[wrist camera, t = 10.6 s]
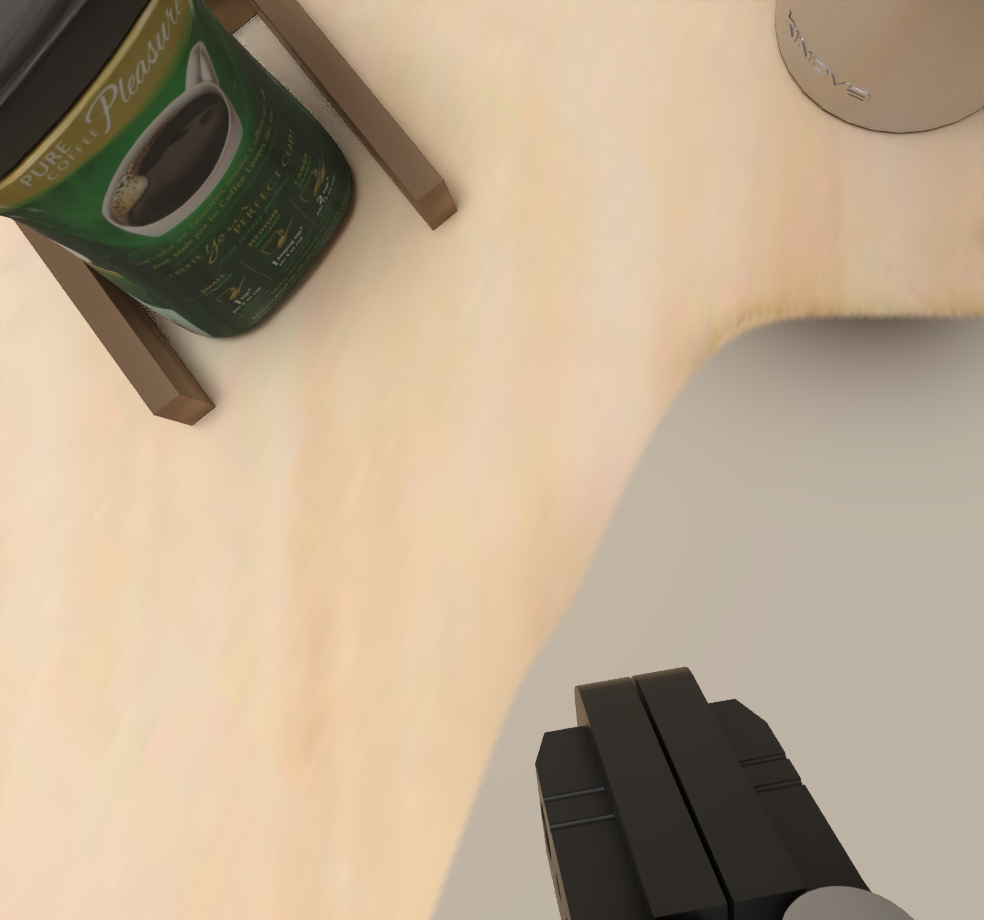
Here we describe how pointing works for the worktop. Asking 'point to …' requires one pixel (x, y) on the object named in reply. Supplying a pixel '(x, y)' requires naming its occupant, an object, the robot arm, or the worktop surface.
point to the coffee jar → (163, 156)
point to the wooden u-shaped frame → (275, 3)
